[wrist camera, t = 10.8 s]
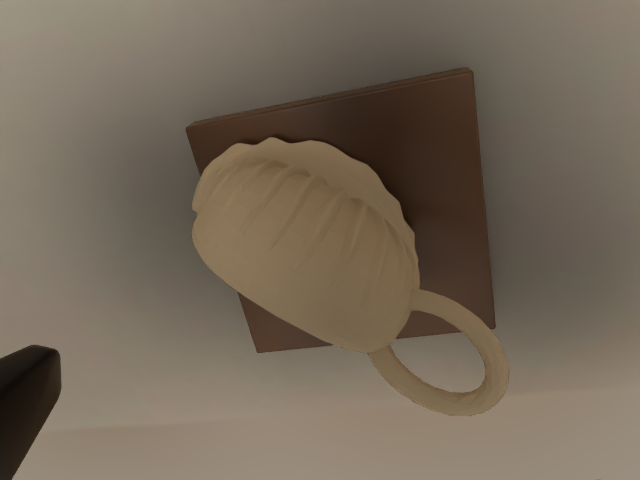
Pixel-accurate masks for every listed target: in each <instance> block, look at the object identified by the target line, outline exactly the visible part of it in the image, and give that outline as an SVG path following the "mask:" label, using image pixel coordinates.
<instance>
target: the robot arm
mask: <svg viewBox="0 0 640 480" xmlns="http://www.w3.org/2000/svg"><path fill="white" fill-rule="evenodd" d="M60 392H61V363H60V354H59V352H58V351H57V350H55V349H53V348H48V347H44V346H40V345H31V346H28V347H26V348H23V349H21V350H19V351H16V352H14V353H12V354H10V355H7V356H5V357H3V358H0V480H12V478H13V476H14V475H15V473H16V471H17V469H18V468H19V466H20V464H21V462H22V461H23V459H24V458H25V456H26V454H27V452H28V450H29V449H30V447H31V445H32V444H33V442H34V440H35V438H36V436H37V435H38V433H39V431H40V430H41V428H42V426H43V425H44V423H45V421H46V419H47V418H48V416H49V414H50V412H51V411H52V409H53V407H54V405H55V404H56V402H57V400H58V398H59V395H60Z"/></svg>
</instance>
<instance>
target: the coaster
mask: <svg viewBox="0 0 640 480" xmlns="http://www.w3.org/2000/svg"><path fill="white" fill-rule="evenodd" d="M186 133H187V136H188V139H189V142H190V145H191V148H192V151H193V155H194V158H195V161H196V164H197V167H198V170H199V173H200V176H202V174H203V172H204V170H205V168H206V167H207V166H208V165H209V164H210V163H211V162H212V161H213V160H214V159H216V158H217V157H219V156H220V155H221V154H223V153H224V152H225V151H226V150H227V149H229V148H230V147H231V146H233V145H235V144H237V143H243V144H248V145H258V144H259V143H261V142H263V141H264V140H266V139H268V138H269V137H273V138H277V139H279V140H282V141H284V142H286V143H293V144H294V143H299V142H304V141H308V140H313V141H319V142H324V143H327V144H329V145H331V146H333V147H335V148H337V149H338V150H340V151H341V152H343V153H344V154H346V155H347V156H349V157H350V158H352V159H355V160H357V161H360V162H362V163H365V164H367V165H368V166H369V167H370V168H371V169H372V170H373V171H374V172H375V173H376V174H377V175H378V177H379V178H380V180H381V182H382V184H383V185H384V187H385V189H386V190H387V191H388V192H389V193H390V194H391V195H392V196H393V197H394V198H396V199H397V200H398V201H399V202H400V206H401V210H402V214H403V218H404V220H405V222H406V223H407V224H408V225H409V227H410V228H411V229H412V231H413V232H414V233H415V251H416V254H417V257H418V269H419V274H420V278H419V279H420V286H419V289H421V290H425V291H429V292H433V293H436V294H439V295H442V296H445V297H447V298H449V299H451V300H453V301H455V302H457V303H459V304H460V305H462V306H463V307H465V308H466V309H468V310H469V311H471V312H472V313H473V314H475V315H476V316H477V317H479V318H480V319H481V320H482V321H483V322H484V323H485V324H486V325H487V327H488V328H489V329H495V327H496V324H495V313H494V302H493V290H492V279H491V268H490V256H489V245H488V234H487V223H486V211H485V200H484V189H483V178H482V166H481V155H480V144H479V133H478V121H477V110H476V99H475V87H474V76H473V72H472V70H470V69H469V68H468V67H466V68H461V69H456V70H451V71H446V72H441V73H436V74H431V75H426V76H421V77H416V78H411V79H406V80H401V81H396V82H391V83H386V84H381V85H376V86H371V87H366V88H361V89H356V90H351V91H346V92H341V93H336V94H331V95H326V96H321V97H316V98H311V99H306V100H301V101H296V102H291V103H286V104H281V105H276V106H271V107H266V108H261V109H256V110H251V111H246V112H241V113H236V114H231V115H226V116H221V117H216V118H211V119H206V120H201V121H196V122H194V123H192V124H191V125H189V126H188V127H186ZM238 294H239V298H240V301H241V304H242V307H243V310H244V313H245V316H246V319H247V322H248V326H249V329H250V332H251V335H252V338H253V341H254V344H255V347H256V350H257V353H262V352H272V351H282V350H291V349H301V348H311V347H321V346H331V345H333V344H330V343H328V342H325V341H323V340H321V339H319V338H317V337H315V336H313V335H311V334H309V333H307V332H305V331H303V330H301V329H300V328H298V327H296V326H294V325H292V324H290V323H288V322H286V321H284V320H282V319H281V318H279V317H277V316H275V315H273V314H272V313H270V312H269V311H267V310H265V309H264V308H262V307H261V306H259V305H257V304H256V303H254V302H253V301H251V300H250V299H248V298H246V297H245V296H243V295H242V294H241V293H239V292H238ZM458 332H461V331H460V330H459V329H458V328H457V327H455V326H454V325H452V324H451V323H449V322H447V321H446V320H444V319H442V318H441V317H438V316H436V315H433V314H431V313H427V312H423V311H419V310H415V311H411V313H410V315H409V318H408V320H407V322H406V324H405V326H404V327H403V328H402V330H401V331H400V333H399V334H398V336H397V337H396V338H395V339H399V338H409V337H419V336H428V335H438V334H448V333H458Z"/></svg>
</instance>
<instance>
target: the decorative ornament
mask: <svg viewBox="0 0 640 480" xmlns="http://www.w3.org/2000/svg"><path fill="white" fill-rule="evenodd" d="M192 209H193V210H194V211H195V212H196V213H197V214H198V215H197V218H196V220H195V222H194V224H193V230H192V239H193V243H194V245H195V247H196V249H197V251H198V253H199V255H200V257H201V258H202V259H203V261H204V262H205V263H206V265H207V266H208V267H209V268H210V269H211V270H212V271H213V272H214V273H215V274H216V275H217V276H218V277H220V278H221V279H222V280H223V281H224V282H225V283H227V284H228V285H230V286H231V287H232V288H234V289H235V290H236V291H238V292H239V293H241V294H242V295H243V296H245V297H246V298H248V299H250V300H251V301H253V302H254V303H256V304H257V305H259V306H261V307H262V308H264V309H265V310H267V311H269V312H270V313H272V314H273V315H275V316H277V317H279V318H281V319H282V320H284V321H286V322H288V323H290V324H292V325H294V326H296V327H298V328H300V329H301V330H303V331H305V332H307V333H309V334H311V335H313V336H315V337H317V338H319V339H321V340H323V341H325V342H328V343H330V344H333V345H336V346H339V347H341V348H344V349H347V350H352V351H357V352H363V353H368V355H369V357H370V359H371V361H372V363H373V364H374V366H375V367H376V368H377V370H378V371H379V373H380V374H381V375H382V376H383V377H384V378H385V379H386V380H387V382H388V383H389V384H390V385H391V386H393V387H394V388H395V389H396V390H397V391H399V392H400V393H401V394H402V395H404V396H406V397H407V398H409V399H410V400H412V401H413V402H415V403H417V404H419V405H421V406H423V407H426V408H428V409H430V410H433V411H436V412H440V413H443V414H447V415H453V416H472V415H476V414H480V413H483V412H485V411H487V410H489V409H491V408H492V407H494V406H495V405H496V404H497V403H498V402H499V401H500V400H501V398H502V397H503V396H504V393H505V391H506V389H507V385H508V380H509V367H508V363H507V359H506V356H505V353H504V350H503V348H502V346H501V344H500V343H499V341H498V340H497V338H496V336H495V335H494V333H493V332H492V331H491V330H490V329H489V328H488V327H487V325H486V324H485V323H484V322H483V321H482V320H481V319H480V318H479V317H477V316H476V315H475V314H473V313H472V312H471V311H469V310H468V309H466V308H465V307H463V306H462V305H460V304H459V303H457V302H455V301H453V300H451V299H449V298H447V297H445V296H442V295H439V294H436V293H433V292H429V291H425V290H421V289H419V286H420V279H419V278H420V274H419V269H418V257H417V254H416V251H415V233H414V232H413V231H412V229H411V228H410V227H409V225H408V224H407V223H406V222H405V220H404V218H403V214H402V210H401V206H400V202H399V201H398V200H397V199H396V198H394V197H393V196H392V195H391V194H390V193H389V192H388V191H387V190H386V189H385V187H384V185H383V184H382V182H381V180H380V178H379V177H378V175H377V174H376V173H375V172H374V171H373V170H372V169H371V168H370V167H369V166H368V165H367V164H365V163H362V162H360V161H357V160H355V159H352V158H350V157H349V156H347V155H346V154H344V153H343V152H341V151H340V150H338V149H337V148H335V147H333V146H331V145H329V144H327V143H324V142H319V141H313V140H308V141H304V142H299V143H294V144H293V143H286V142H284V141H282V140H279V139H277V138H273V137H269V138H268V139H266V140H264V141H263V142H261V143H259V144H258V145H248V144H243V143H237V144H235V145H233V146H231V147H230V148H229V149H227V150H226V151H225V152H224V153H223V154H221V155H220V156H219V157H217V158H216V159H214V160H213V161H212V162H211V163H210V164H209V165H208V166H207V167H206V168H205V170H204V172H203V174H202V176H201V178H200V180H199V182H198V185H197V187H196V191H195V194H194V198H193V201H192ZM415 310H419V311H423V312H427V313H431V314H433V315H436V316H438V317H441V318H442V319H444V320H446V321H447V322H449V323H451V324H452V325H454V326H455V327H457V328H458V329H459V330H460V331H461V332H462V333H464V334H465V335H466V336H467V337H468V338H469V339H470V341H471V342H472V343H473V344H474V346H475V347H476V348H477V349H478V351H479V353H480V355H481V356H482V358H483V361H484V365H485V379H484V381H483V383H482V385H481V386H480V387H479V388H478V389H476V390H474V391H471V392H466V393H456V392H448V391H445V390H442V389H438V388H435V387H433V386H431V385H429V384H427V383H425V382H423V381H422V380H421V379H419V378H418V377H417V376H415V375H414V374H412V373H411V372H410V371H409V370H408V369H407V368H406V367H405V366H404V365H403V364H402V363H401V362H400V361H399V359H398V358H397V357H396V355H395V353H394V352H393V350H392V348H391V347H390V344H391V343H392V342H393V341H394V340H395V338H396V337H397V336H398V334H399V333H400V331H401V330H402V328H403V327H404V326H405V324H406V322H407V320H408V318H409V315H410V313H411V311H415Z"/></svg>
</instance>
